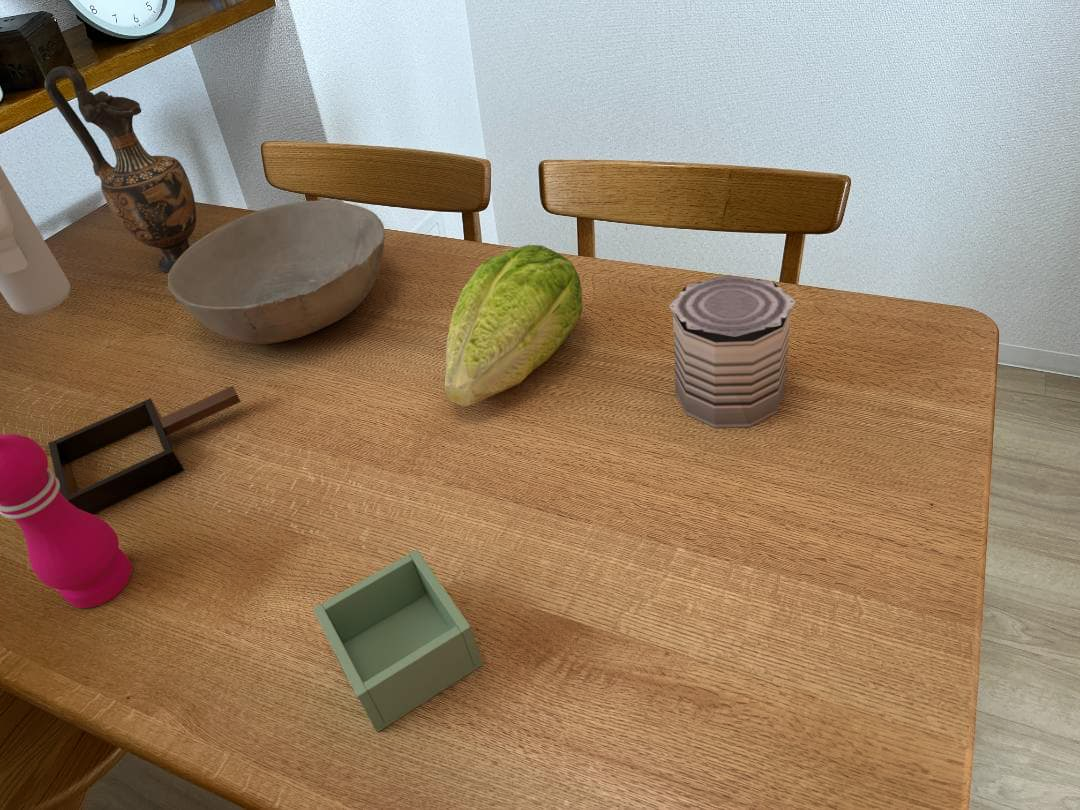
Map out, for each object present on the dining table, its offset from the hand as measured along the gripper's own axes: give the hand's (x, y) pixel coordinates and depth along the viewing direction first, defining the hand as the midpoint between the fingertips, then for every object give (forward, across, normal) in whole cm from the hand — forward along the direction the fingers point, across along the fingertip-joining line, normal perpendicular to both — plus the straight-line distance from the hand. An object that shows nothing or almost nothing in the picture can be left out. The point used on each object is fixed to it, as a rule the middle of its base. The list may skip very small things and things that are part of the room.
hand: (13, 253), depth 64 cm
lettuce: (+30, +5, +40) cm, 50 cm away
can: (+30, +25, +54) cm, 67 cm away
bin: (+30, +31, +12) cm, 45 cm away
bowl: (+30, -27, +24) cm, 47 cm away
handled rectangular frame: (+30, -11, +1) cm, 32 cm away
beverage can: (+5, 0, 0) cm, 5 cm away
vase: (+30, -55, +14) cm, 64 cm away
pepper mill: (+31, +5, -8) cm, 32 cm away
